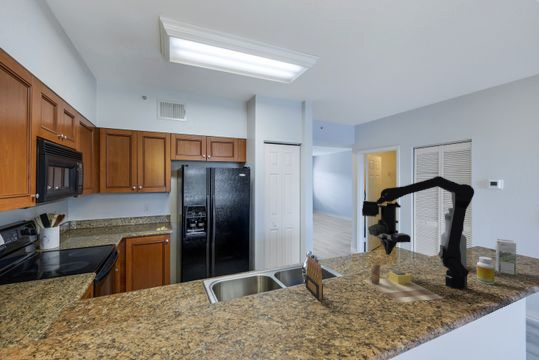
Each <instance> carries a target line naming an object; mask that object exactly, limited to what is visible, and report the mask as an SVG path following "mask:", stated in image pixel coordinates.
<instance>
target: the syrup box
mask: <svg viewBox="0 0 539 360" xmlns="http://www.w3.org/2000/svg"><path fill="white" fill-rule="evenodd" d="M495 270H496V271H497V272H498V273H499V274H505V275H511V276H517V243H516V242H515V241H514V240H510V239H501V238H496V239H495Z"/></svg>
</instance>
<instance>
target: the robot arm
mask: <svg viewBox="0 0 539 360" xmlns="http://www.w3.org/2000/svg"><path fill="white" fill-rule="evenodd" d="M436 187H438V188H440V189H442V190H445V191H446V192H449V193H451V203H452V208H453V209H452V214H451V220H450V225H449V231H448V237H447V242H446V243H445V245H444V246H443V245H441V244H440V245H439V252H438V254H437V255H438V256H439V259H440V262H441V261H442V263H443V264H444V266H443V267H445V268H447V270H445V281H444V282H445V286H446V287H448V288H451V289H458V290H466V289H468V290H469V291H470V290H471V291H472V289H471V288H468V275H469V274H470V271H469V270H468V268H467V267H465V266H464V265H463V264H462V263H461V252H460V241H461V236H462V234H463V232H462V230H463V225H464V224H465V219H466V218H465V217H466V212H467V209H468V207H469V205H470V204H471V202H472V200H473V197H474V195H475V189H474V187H473V186H471V185H470V184H467V183H457V182H455V181H452V180H449V179H446V178H444V177H443V176H439V175H436V176H434V177H432V178H428V179H425V180H422V181H418V182H414V183H411V184H406V185H404V186H396V187H387V188H384V189H382V190H381V192H380V197H379V198H378V199H377V200H376V201H372V200H371V201H369V200H363V201H362V208H361V215H362V216H363V217H371V218H372V217H375V218H376V217H378V215H380V219H378V220H377V223H375V224H373V225H371V226H368V227H367V229H368V230H367V231H368V233H369V235H370V236H373V237H377V239H379V240H380V241H381V242H382V245H383V247H384V251H385V254H386V255H387V256H390V255H391V253H392V252H393V250H394V249H395V247H396V245H397V244H398V243H400V244H401V243H411V242H412V241H411V236H410V235H409V234H407V233H404V232H399V230H397V226H396V225H397V224H399V220H397V208H399V209H400V208H401V207H402V206H401V204H399V203H398V201H396V200H398V199H400V198H402V197H404V196H407V195H410V194H414V193H418V192H421V191H426V190H429V189H433V188H436ZM394 201H395V202H394ZM386 202H387V203H386ZM385 203H386V204H385ZM382 204H383V205H382ZM463 231H464V230H463Z"/></svg>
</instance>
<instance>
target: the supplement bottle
mask: <svg viewBox="0 0 539 360" xmlns="http://www.w3.org/2000/svg"><path fill="white" fill-rule="evenodd" d="M476 280H477V282H479V283H482V284H484V285H494V284H495V264H493V258H491V257H487V256H478V262H477V263H476Z"/></svg>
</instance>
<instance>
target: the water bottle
mask: <svg viewBox="0 0 539 360" xmlns="http://www.w3.org/2000/svg"><path fill="white" fill-rule="evenodd" d="M452 209H453V207H449V208H447V210H448V212H447V213H445V214H444V221H445V222H444V223H445V225H444V227H445V228H444V233H442V234H441V237H440V241H441V242H440V245H443V246H444V245H445V243H446V242H447V237H448V231H449V225H450V220H451V214H452ZM464 228H465V227H464V225H463V230H462V236H461V241H460V252H461V263H462V264H463V265H464V266H465V267H466V268H467V264H468V263H467V247H468V246H467V245H468V244H467V240H468V239H467V237H466V235H464V234H463V232H464ZM440 263H441V265H442V267H445V266H444V264H443V263H442V261H441V260H440Z"/></svg>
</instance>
